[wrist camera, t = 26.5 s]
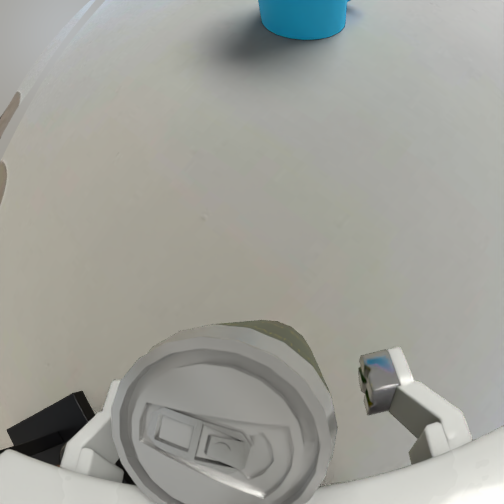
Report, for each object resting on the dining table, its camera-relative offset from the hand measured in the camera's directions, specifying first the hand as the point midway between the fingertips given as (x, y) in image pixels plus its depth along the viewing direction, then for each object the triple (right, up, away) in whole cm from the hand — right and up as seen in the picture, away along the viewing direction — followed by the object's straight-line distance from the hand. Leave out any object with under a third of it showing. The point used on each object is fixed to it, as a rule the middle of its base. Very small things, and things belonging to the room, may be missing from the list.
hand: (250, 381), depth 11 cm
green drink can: (+1, -2, +7) cm, 7 cm away
